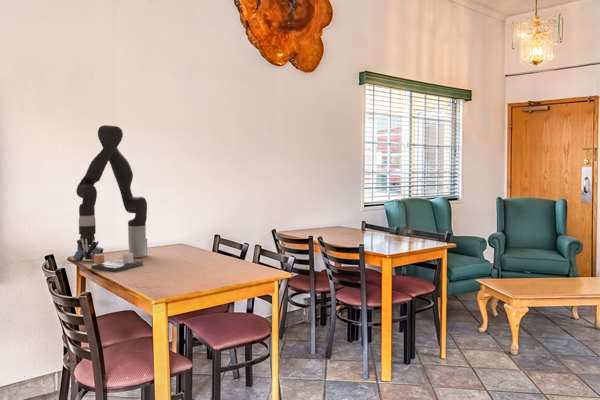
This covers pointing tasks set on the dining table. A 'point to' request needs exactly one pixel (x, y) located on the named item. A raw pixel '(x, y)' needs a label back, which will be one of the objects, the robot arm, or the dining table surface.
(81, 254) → the toy
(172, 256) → the dining table surface
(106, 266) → the console
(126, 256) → the fader white
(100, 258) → the fader orange
